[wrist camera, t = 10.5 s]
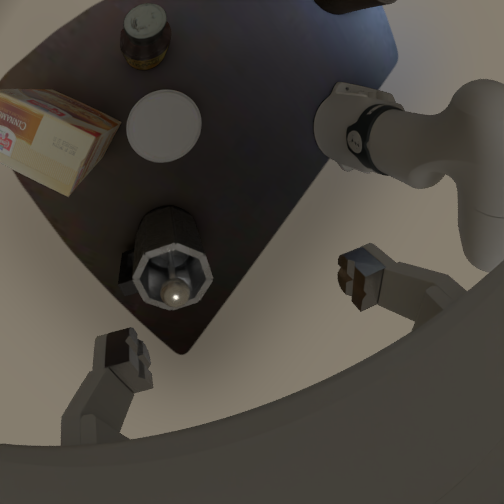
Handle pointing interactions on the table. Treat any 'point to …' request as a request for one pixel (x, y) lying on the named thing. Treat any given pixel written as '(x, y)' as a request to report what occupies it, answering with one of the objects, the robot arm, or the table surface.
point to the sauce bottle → (145, 36)
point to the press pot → (158, 242)
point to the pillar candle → (349, 5)
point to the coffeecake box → (52, 136)
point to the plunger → (173, 278)
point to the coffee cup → (163, 126)
